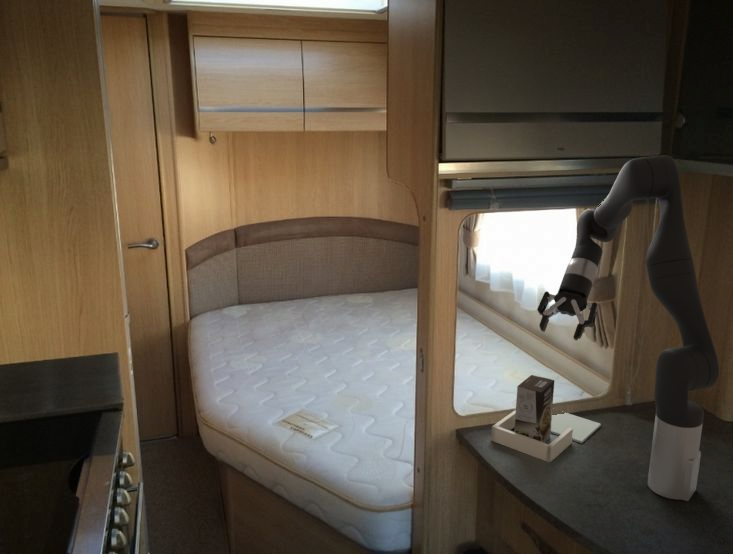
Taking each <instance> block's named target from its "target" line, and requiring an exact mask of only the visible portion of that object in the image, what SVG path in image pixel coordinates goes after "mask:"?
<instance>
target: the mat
mask: <svg viewBox="0 0 733 554" xmlns="http://www.w3.org/2000/svg"><path fill="white" fill-rule="evenodd" d="M601 426H602V424H601V423H600V422H597V421H594V420H590V419H587V418H585V417H582V416H581V417H580V416H577V415H576V414H575V415H574V414H571V413H568V412H565V413H564V414H557V415H552V420H551V434H553V435H557V436H558V437H559V436H560V435H561V434H562V433H563V432H564V431H566V430H567V429H568V428H572V429H573V433H572V442H577V443H580V444H583V443H584V442H585V441H586V440H588V438H589V437H591V436H592V435H593V434H594V433H595V432H596V431H597V430H598V429H600V428H601Z"/></svg>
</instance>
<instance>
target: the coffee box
mask: <svg viewBox="0 0 733 554" xmlns="http://www.w3.org/2000/svg"><path fill="white" fill-rule="evenodd" d="M516 388H517V390H516V400H515V401H516V404H515V410H516V415H515V427H514V431H513V432H515V433H518V434H521V435H524V436H526V437H529V438H532V439H535V440H538V441H540V442H543V443H546V442H547V441H548V440H549V439H550V438H551V434H552V433H551V420H552V408H553V407H554V405H553V404H554V390H555V379H552V378H548V377H544V376H543V377H542V376H538V375H533V374H531V375H530V376H528V377H527V378H526V379H525V380H523V381H522V382H521V383H519V384H518V385H517V386H516Z"/></svg>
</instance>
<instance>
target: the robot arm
mask: <svg viewBox="0 0 733 554" xmlns="http://www.w3.org/2000/svg"><path fill="white" fill-rule="evenodd" d="M680 179H681V178H680V172H679V168H678V166H677V163H676V161H675V160H674V158H673V157H672V156H669V155H663V154H662V155H653V156H647V157H646V156H645V157H637V158H633V159H629V160H628V161H627V162H626V163H625V164H624V165H623V166H622V167H621V169H620V171H619V173H618V174H617V177H616V179H615V181H614V183H613V185H612V187H611V189H610V191H609V193H608V194H607V196H606V197H605V198H604V199H603V200H604V201H603V200H602V201H601V203H600V204H601V205H600V204H599V205H600V206H599V205H598V206H599V207H598V206H597V207H596V208H595V209H592V208H588V209H585V210H583V211H581V213H580V214H579V216H578V218H577V224H576V242H575V247H574V250H573V253H572V255H571V258H570V260H569V263H568V264H567V266H566V269H565V272H564V274H563V278H562V280H561V282H560V285H559V288H558V290H557V293H556V294H552V293H550V292H549V291H547V290H546V291H545V292H544V293H543V296H541V297H542V298H541V300H540V302H539V305H538V307H537V309H536V310H537V312H538V315H540V316H542V317H541V320H540V322H539V329H540V331H541V332H543V333H544V332H546V330H547V328H548V327H547V326H548V324H549V322H550V318H551V317H553V316H556V315H557V314H561V315H567V316H569V317H574V316H576V317H577V320H578V322H579V323H577V324H576V325H577V326H576V328H575V331H574V334H573V336H572V337H573V340H574V341H579V339H582V336H583V333H584V331H585V328H593V327H594V325H595V322H596V319H597V315H598V312H599V311H598V310H599V306H598V304H597V302H595V301H594V302H588V300H589V296H590V293H591V291H592V288H593V285H594V283H595V280H596V276H597V271H598V267H599V264H600V261H601V258H602V256H603V253H604V252H603V251H604V250H603V248H602V247H601V246H600V245H599V244H598V243H597V242H595V241H594V240H596V241H599V242H600V243H601V242H602V243H609V242H611V241H613V240H614V239H615V237H616V236H617V234H618V230H619V227H620V225H621V224H622V222H624V221H625V220H626V219H627V218H628V217H629V215H630V214H631V212H632V209H633V201H635V200H638V201H641V200H651V199H658V203H659V221H658V225H657V227H656V230H655V233H654V235H653V238H652V239H651V242H650V245H649V246H648V249H647V252H646V255H645V265H646V271H647V275H648V281H649V282H648V283H649V284H650V288H651V291H652V293H653V295H654V296H655V298H656V299H657V300H658V301H659V303H660V304H661V305H662V306H663V307H664V309H665V310H666V311H667V313H668V314H669V315H670V316H671V317H672V318H673V320H674V322H675V324H676V326H677V327H678V331H679V334H680V338H681V342H682V346H678V347H670V348H666V349H664V350H662V352H660V354H659V355H658V358H657V360H656V366H655V378H654V394H653V395H654V403H655V409H656V410H655V419H654V427H653V435H652V442H651V452H650V458H649V459H650V460H649V468H648V474H647V486H648V487H649V490H651V491H652V492H653V493H655V494H657V495H659V496H660V497H663V498H667V499H671V500H677V501H678V500H681V501H685V502H689V500H690V499H691V497H692V496H693V495H694V493H695V492H696V490H697V484H698V478H699V471H700V465H701V463H700V462H701V456H702V451H701V450H700V445H701V437H702V431H703V424H704V417H705V411H704V409H703V408H702V406H701V405H699V404H698V403H696V402H695V401H693V400H691V399H689V392H690V391H691V392H692V391H697V390H703V389H704V390H705V389H709V388H712V387H713V386H715V385H716V384H717V383H718V380H719V376H720V365H719V364H720V363H719V359H718V355H717V352H716V349H715V346H714V342H713V339H712V335H711V333H710V329H709V327H708V323H707V321H706V317H705V313H704V309H703V304H702V300H701V295H700V292H699V287H698V286H699V285H698V280H697V274H696V268H695V264H694V260H693V255H692V252H691V248H690V243H689V238H688V237H689V236H688V232H687V227H686V223H685V222H686V220H685V216H684V215H685V214H684V207H683V205H684V204H683V197H682V188H681V180H680ZM593 239H594V240H593ZM553 301H554V303H553V304H551V305H550V306H549V307H548V305H549V303H551V302H553ZM547 307H548V308H547ZM586 309H588V311H589V313H588V317H587V319H586V320H585V319H584V317H583V314H582V313H581V312H582V311H584V310H586Z"/></svg>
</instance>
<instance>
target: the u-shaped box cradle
mask: <svg viewBox="0 0 733 554" xmlns="http://www.w3.org/2000/svg"><path fill="white" fill-rule="evenodd" d="M515 415H516V409H514V410H513V411H511V412H510V413H509V414H508V415H506V416H505V417H502V419H500V420H499V421H498V422H496V423H495V424H493V425H492V426H491V439H490V440H492V441H491V442H494V443H496V444H498V445H499V444H500V445H501V446H502V445H503V446H505V447H508V448H509V449H513V450H515V451H518V452H520V453H524V454H527V455H528V456H531V457H534V458H536V459H539V460H542V461H545V462H547V463H552V462H553V460H555V459H556V458H557V457H558V456H559V455H560V454H562V453H563V451H565V450H566V449H567V448H568V447H570V445H571V444H572V442H573V440H572V433H573V429H572V428H568V429H567V430H566V431H564V432H563V433H562V434H561V435H560V436H559V435H558V436H557V437H556V438H555V439H554V440H553V441H551V442H550V443H549V444H548V443H546V442H545V443H543V442H540V441H538V440H535V439H532V438H529V437H526V436H524V435H521V434H518V433H515V432H514V431H513V429H515Z"/></svg>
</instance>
